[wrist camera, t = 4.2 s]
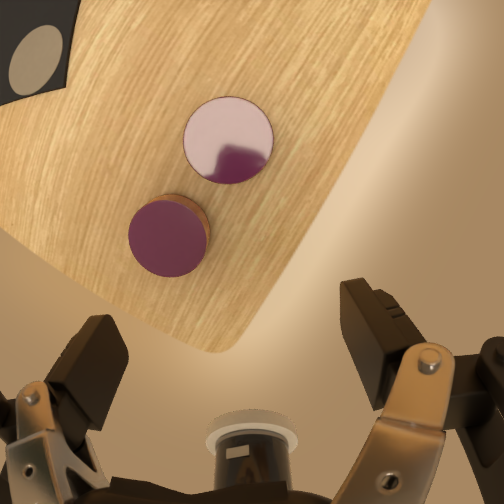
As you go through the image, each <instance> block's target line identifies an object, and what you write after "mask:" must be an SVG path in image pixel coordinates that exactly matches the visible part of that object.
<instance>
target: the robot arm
mask: <svg viewBox="0 0 504 504" xmlns="http://www.w3.org/2000/svg"><path fill="white" fill-rule="evenodd" d="M340 323H341V330H342V335H343V338H344V340H345V342H346V345H347V347H348V350H349V352H350V354H351V356H352V359H353V361H354V364H355V366H356V369H357V371H358V373H359V376H360V378H361V381H362V383H363V386H364V388H365V391H366V393H367V396H368V398H369V401H370V403H371V405H372V408H373V411H375V410H379V409H382V408H384V409H383V411H382V414H381V416H380V417H378V418H377V420H376V421H375V424H374V425H373V427H372V429H371V432H370V434H369V436H368V438H367V440H366V442H365V444H364V446H363V448H362V450H361V452H360V454H359V456H358V458H357V459H356V462H355V463H354V465H353V467H352V469H351V470H350V472H349V474H348V476H347V478H346V479H345V481H344V483H343V484H342V486H341V488H340V489H339V491H338V493H337V494H336V496H335V497H334V499H333V500H331V499H329V498H326V497H323V496H320V495H317V494H313V493H308V492H303V491H294V490H293V485H292V477H291V468H290V460H289V452H288V450H289V445H288V440H287V439H286V438H285V437H284V436H283V435H281V434H279V433H277V432H274V431H270V430H263V429H244V430H237V431H233V432H230V433H227V434H225V435H223V436H221V437H220V438H219V439H218V440H217V441H216V445H215V451H216V458H215V473H214V491H209V492H204V493H199V494H192V495H190V494H184V493H181V492H177V491H174V490H171V489H168V488H165V487H162V486H159V485H156V484H153V483H151V482H147V481H138V480H131V479H125V478H119V477H112V479H111V482H110V484H109V482H108V481H107V479H106V477H105V476H104V473H103V471H102V469H101V466H100V464H99V461H98V459H97V456H96V454H95V451H94V448H93V446H92V443H91V440H90V438H89V437H88V436H87V435H86V432H87V430H88V429H90V430H97V431H101V430H102V427H103V424H104V422H105V419H106V417H107V414H108V411H109V409H110V406H111V404H112V401H113V398H114V396H115V393H116V391H117V388H118V386H119V384H120V381H121V379H122V376H123V374H124V371H125V369H126V367H127V364H128V360H129V356H128V350H127V347H126V345H125V343H124V341H123V339H122V337H121V335H120V333H119V330H118V328H117V326H116V324H115V322H114V320H113V318H112V317H111V316H110V315H108V314H106V315H95V316H90V317H89V318H88V319H87V321H86V322H85V324H84V325H83V327H82V328H81V329H80V331H79V332H78V333H77V334H76V335H75V336H74V337H72V338H71V340H70V341H69V343H68V344H67V346H66V349H64V350H63V352H62V353H61V357H59V358H58V359H57V361H56V362H55V364H54V365H53V367H52V369H51V370H50V372H49V373H48V375H47V377H46V378H45V380H44V381H43V382H41V381H35V382H31V383H29V384H27V385H26V386H25V387H23V388H22V389H21V390H20V392H19V393H18V395H17V397H16V399H10V400H7V399H6V398H5V397H4V395H3V394H2V393H1V391H0V438H1V439H2V440H3V441H4V442H5V443H6V444H7V445H6V461H5V464H4V466H3V469H2V471H1V474H0V504H424V503H425V500H426V498H427V495H428V493H429V490H430V487H431V485H432V482H433V479H434V476H435V473H436V470H437V467H438V464H439V461H440V457H441V454H442V450H443V447H444V443H445V438H446V431H443V430H449V429H456V432H457V434H458V436H459V438H460V441H461V443H462V445H463V447H464V450H465V452H466V455H467V457H468V460H469V462H470V465H471V467H472V470H473V472H474V475H475V478H476V480H477V483H478V486H479V489H480V491H481V494H482V497H483V500H484V503H485V504H504V419H503V418H504V337H493V338H490V339H488V340H487V341H486V342H485V343H484V344H483V346H482V348H481V351H480V353H479V354H474V355H464V356H453V355H452V353H451V352H450V351H449V350H448V349H447V348H445V347H444V346H442V345H439V344H436V343H430V342H427V341H426V340H425V339H424V337H423V336H422V334H421V333H420V332H419V330H418V329H417V328H416V326H415V325H414V324H413V322H412V321H411V320H410V318H409V317H408V316H407V315H406V314H405V312H404V310H403V309H402V308H401V307H400V306H399V304H398V303H397V302H396V300H395V299H394V298H393V296H391V295H390V294H388V293H386V292H384V291H383V290H381V289H378V290H374V291H373V290H372V289H371V287H370V286H369V284H368V283H367V282H366V280H365V279H364V278H357V279H352V280H347V281H342V282H341V284H340ZM498 409H499V410H498ZM499 411H500V412H499ZM500 413H501V414H500ZM501 415H502V416H503V417H502V416H501Z"/></svg>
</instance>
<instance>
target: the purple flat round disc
mask: <svg viewBox="0 0 504 504" xmlns="http://www.w3.org/2000/svg"><path fill="white" fill-rule="evenodd" d="M209 237H210V228H209V223H208V220H207V218H206V216H205V214H204V212H203V211H202V209H201V208H200V207H199V206H198V205H197V204H196V203H195V202H193V201H192V200H190V199H188V198H186V197H184V196H180V195H175V194H167V195H161V196H158V197H156V198H154V199H152V200H151V201H149V202H148V203H147V204H146V205H144V206H143V207H142V208H141V209H140V210H138V211H137V213H136V214H135V215H134V217H133V219H132V221H131V223H130V227H129V233H128V239H129V245H130V248H131V251H132V253H133V255H134V257H135V258H136V260H137V261H138V262H139V263H140V264H141V265H142V266H143V267H144V268H145V269H147V270H148V271H150V272H151V273H153V274H156V275H159V276H163V277H179V276H183V275H185V274H187V273H189V272H191V271H192V270H194V269H195V268H196V267H197V266H198V265H199V264H200V262H201V261H202V259H203V257H204V255H205V252H206V249H207V245H208V242H209Z"/></svg>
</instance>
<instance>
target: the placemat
mask: <svg viewBox="0 0 504 504" xmlns="http://www.w3.org/2000/svg"><path fill="white" fill-rule="evenodd" d="M79 4H80V0H0V106H1V105H4V104H7V103H10V102H13V101H16V100H19V99H22V98H26V97H29V96H33V95H37V94H40V93H44V92H48V91H52V90H56V89H61V88H65V87H66V77H67V69H68V61H69V54H70V48H71V42H72V36H73V31H74V26H75V21H76V17H77V12H78V8H79Z"/></svg>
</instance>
